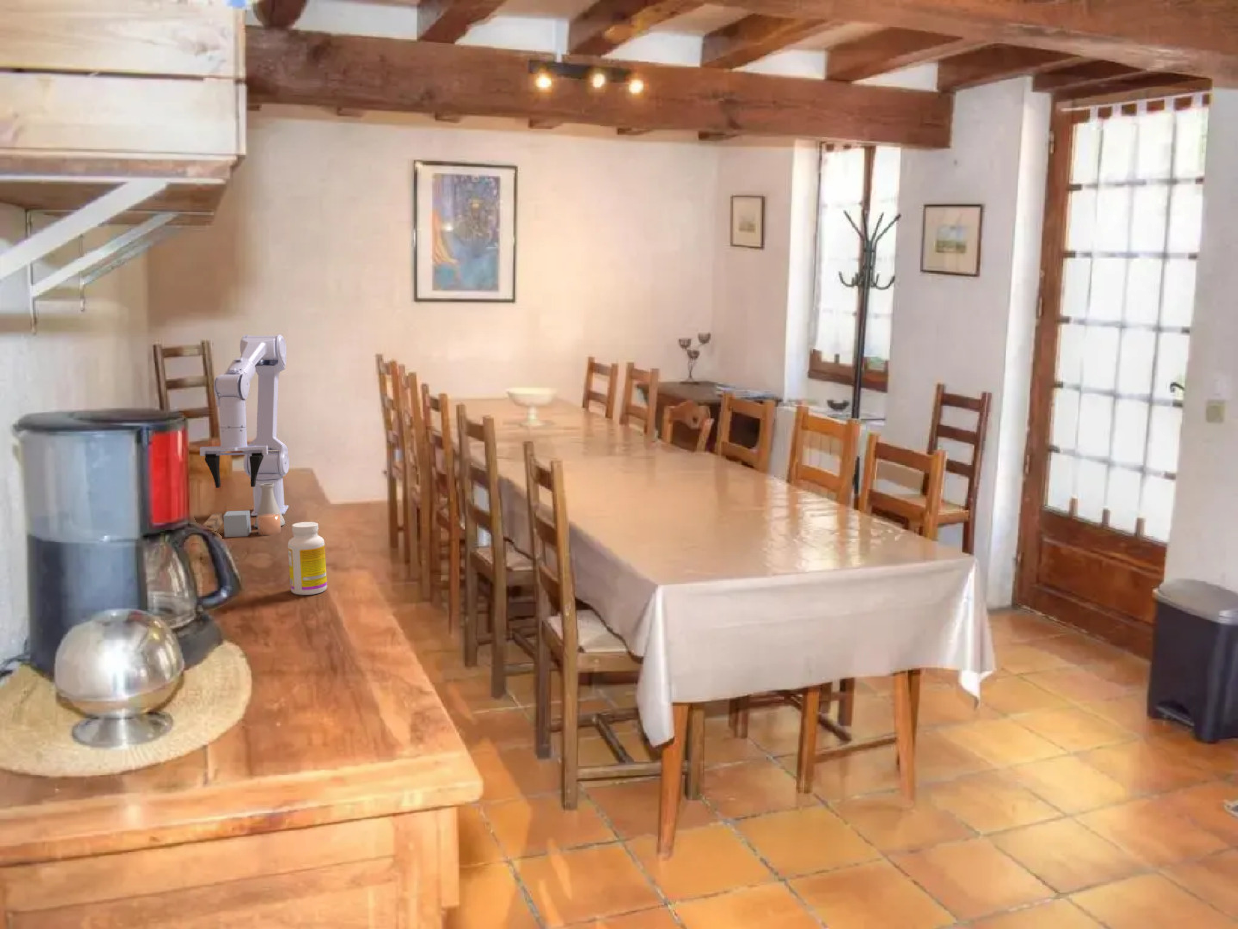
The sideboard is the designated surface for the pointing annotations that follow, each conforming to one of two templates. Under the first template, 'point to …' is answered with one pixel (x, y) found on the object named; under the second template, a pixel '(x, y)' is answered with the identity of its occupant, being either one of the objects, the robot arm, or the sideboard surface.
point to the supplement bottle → (307, 560)
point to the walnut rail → (214, 521)
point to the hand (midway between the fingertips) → (235, 486)
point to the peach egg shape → (269, 524)
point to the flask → (268, 503)
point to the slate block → (237, 523)
